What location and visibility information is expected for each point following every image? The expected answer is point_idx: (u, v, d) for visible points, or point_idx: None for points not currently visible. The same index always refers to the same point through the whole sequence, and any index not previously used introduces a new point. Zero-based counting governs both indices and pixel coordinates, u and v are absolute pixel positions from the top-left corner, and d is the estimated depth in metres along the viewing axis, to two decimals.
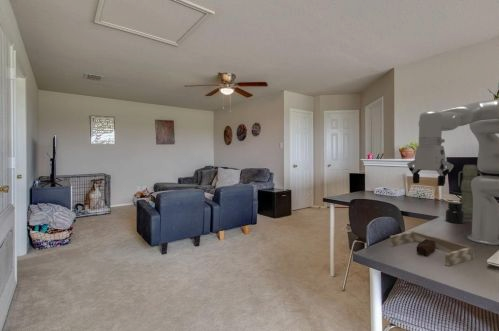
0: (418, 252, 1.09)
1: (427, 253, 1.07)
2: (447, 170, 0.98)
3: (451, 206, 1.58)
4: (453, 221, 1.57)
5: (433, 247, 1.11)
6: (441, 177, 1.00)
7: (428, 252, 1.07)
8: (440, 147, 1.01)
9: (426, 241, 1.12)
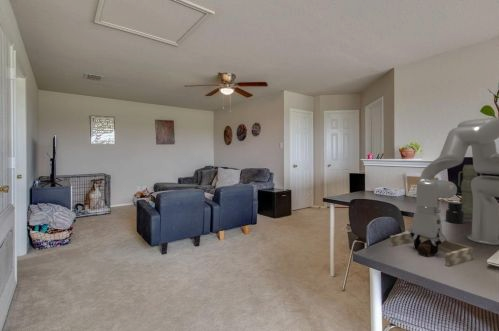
0: (419, 252, 1.08)
1: (428, 253, 1.06)
2: (439, 242, 1.05)
3: (451, 206, 1.58)
4: (453, 221, 1.57)
5: None
6: (434, 247, 1.07)
7: (429, 252, 1.07)
8: (436, 217, 1.06)
9: (428, 241, 1.11)
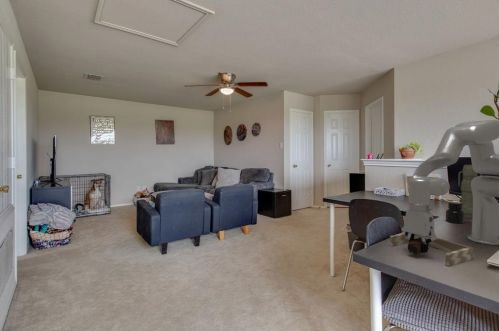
0: (409, 250, 1.07)
1: (418, 251, 1.05)
2: (429, 240, 1.04)
3: (451, 206, 1.58)
4: (453, 220, 1.57)
5: None
6: (424, 245, 1.06)
7: (419, 250, 1.06)
8: (429, 215, 1.04)
9: (419, 239, 1.10)
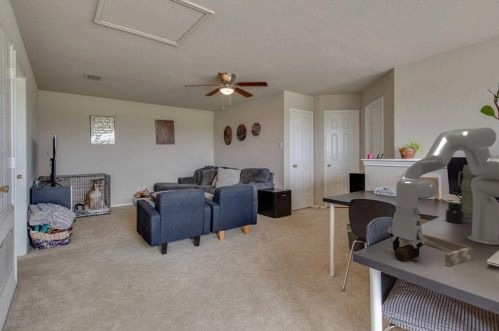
0: (396, 256, 1.04)
1: (405, 258, 1.02)
2: (421, 244, 0.99)
3: (451, 206, 1.58)
4: (453, 221, 1.57)
5: None
6: (415, 249, 1.01)
7: (407, 257, 1.02)
8: (416, 218, 1.01)
9: (408, 246, 1.07)
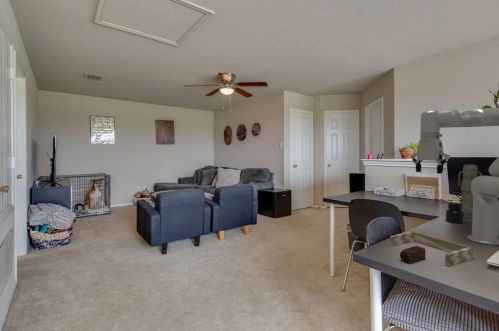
0: (401, 258, 1.02)
1: (411, 260, 1.00)
2: (444, 160, 1.17)
3: (451, 206, 1.58)
4: (453, 221, 1.57)
5: (421, 255, 1.03)
6: (439, 166, 1.19)
7: (412, 259, 1.00)
8: (438, 141, 1.19)
9: (414, 248, 1.04)
